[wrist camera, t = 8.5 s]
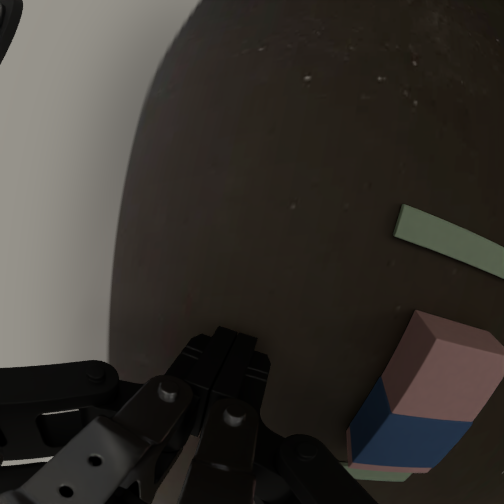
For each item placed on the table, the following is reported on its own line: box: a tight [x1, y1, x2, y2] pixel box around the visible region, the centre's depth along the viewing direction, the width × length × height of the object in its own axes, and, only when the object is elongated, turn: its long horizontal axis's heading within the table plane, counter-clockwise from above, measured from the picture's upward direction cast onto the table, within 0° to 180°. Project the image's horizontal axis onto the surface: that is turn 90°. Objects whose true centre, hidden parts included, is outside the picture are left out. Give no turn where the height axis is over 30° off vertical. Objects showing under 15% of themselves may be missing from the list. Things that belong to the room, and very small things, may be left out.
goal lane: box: [340, 204, 504, 481], centre depth 11 cm, size 8×14×1 cm, turn 165°
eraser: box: [346, 310, 504, 473], centre depth 10 cm, size 5×7×3 cm, turn 165°
